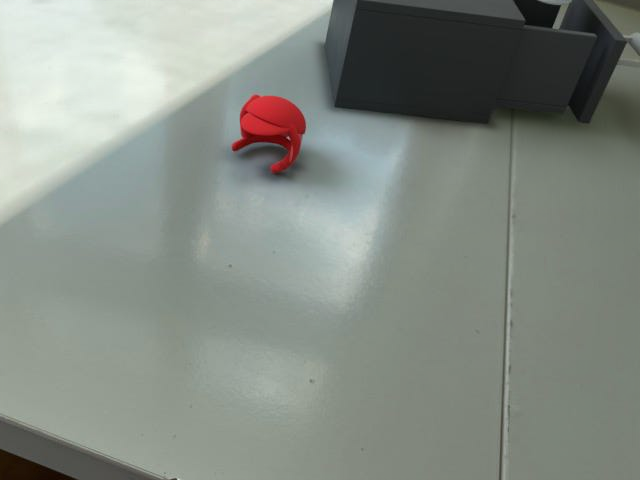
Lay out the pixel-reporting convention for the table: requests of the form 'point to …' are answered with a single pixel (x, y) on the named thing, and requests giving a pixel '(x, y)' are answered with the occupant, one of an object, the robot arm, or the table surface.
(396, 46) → the cabinet
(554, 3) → the supplement bottle
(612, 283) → the table surface
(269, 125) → the red domed clip
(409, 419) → the table surface
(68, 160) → the table surface
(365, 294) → the table surface
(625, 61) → the drawer
